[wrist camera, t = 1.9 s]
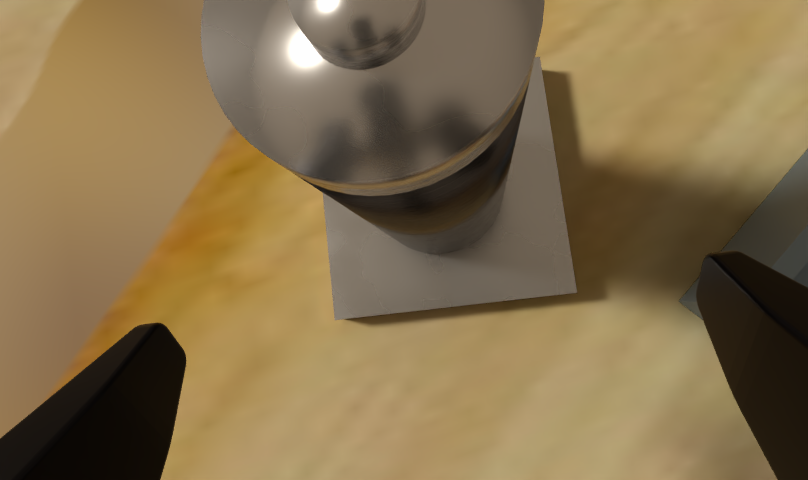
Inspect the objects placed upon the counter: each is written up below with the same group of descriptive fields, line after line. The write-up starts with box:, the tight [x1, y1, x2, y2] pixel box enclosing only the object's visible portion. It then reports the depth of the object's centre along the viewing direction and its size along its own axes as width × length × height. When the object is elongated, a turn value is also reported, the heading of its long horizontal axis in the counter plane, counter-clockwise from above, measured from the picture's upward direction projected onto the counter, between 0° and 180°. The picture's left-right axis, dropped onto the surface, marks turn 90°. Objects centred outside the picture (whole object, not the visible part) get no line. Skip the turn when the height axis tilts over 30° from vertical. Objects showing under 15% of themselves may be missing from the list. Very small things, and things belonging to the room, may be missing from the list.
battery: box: [201, 0, 544, 254], centre depth 13 cm, size 5×5×13 cm
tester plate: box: [323, 57, 577, 320], centre depth 19 cm, size 9×9×1 cm
